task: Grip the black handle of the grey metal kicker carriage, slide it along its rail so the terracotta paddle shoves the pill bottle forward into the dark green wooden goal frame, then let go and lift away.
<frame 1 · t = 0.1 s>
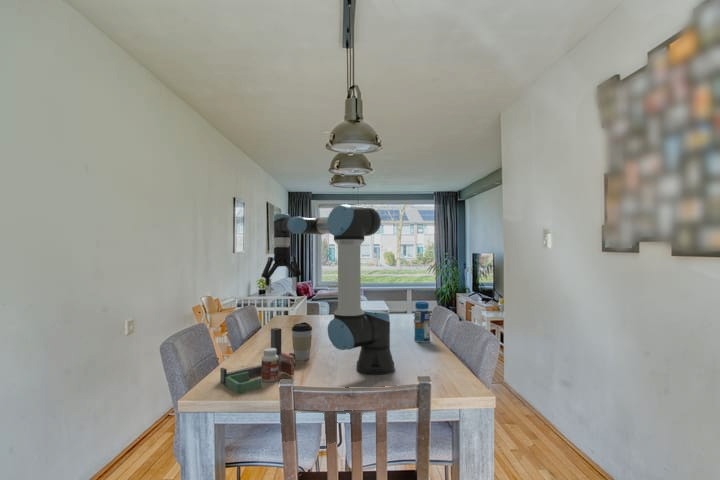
hand: (282, 291, 183), 28 cm above the table, fingers open, 13 cm apart
rail: (260, 373, 150), on the table
coffee cup: (301, 358, 171), on the table
goal: (243, 386, 136), on the table
beverage bottle: (422, 341, 201), on the table
pill bottle: (270, 380, 143), on the table
kicker: (283, 351, 151), point 8 cm above the table, slide at 0.0 cm
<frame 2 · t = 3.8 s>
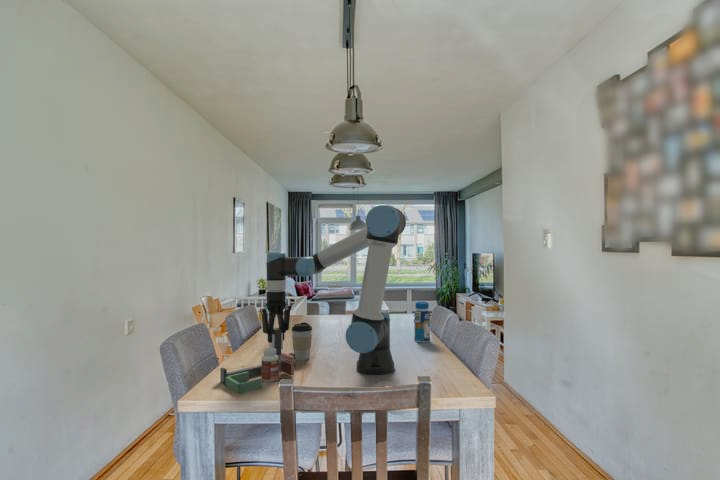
hand: (276, 349, 155), 8 cm above the table, fingers closed on kicker, 3 cm apart
kicker: (283, 351, 151), point 8 cm above the table, slide at 0.0 cm, touching gripper
everything else where it was.
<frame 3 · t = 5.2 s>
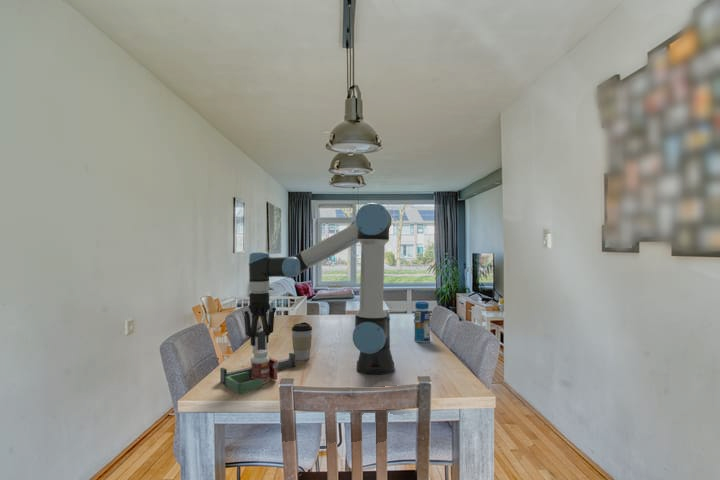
hand: (259, 352, 150), 8 cm above the table, fingers closed on kicker, 3 cm apart
pill bottle: (260, 382, 141), on the table, touching kicker
kicker: (266, 354, 146), point 8 cm above the table, slide at 7.2 cm, touching gripper, pill bottle
everything else where it was.
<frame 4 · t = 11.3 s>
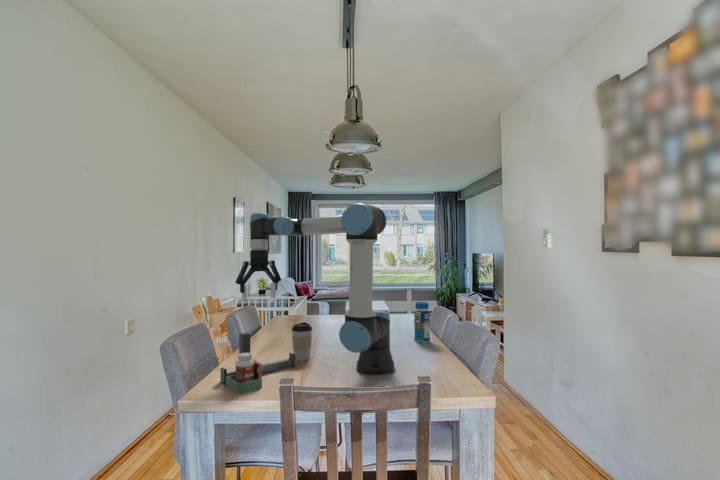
hand: (259, 299, 165), 27 cm above the table, fingers open, 13 cm apart
pill bottle: (244, 386, 136), on the table, touching kicker
kicker: (251, 357, 142), point 8 cm above the table, slide at 13.4 cm, touching pill bottle
everything else where it was.
at the end: pill bottle inside the target area (0.4 cm from its centre), on the table; pill bottle tilted 0°; kicker slide at 13.4 cm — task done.
